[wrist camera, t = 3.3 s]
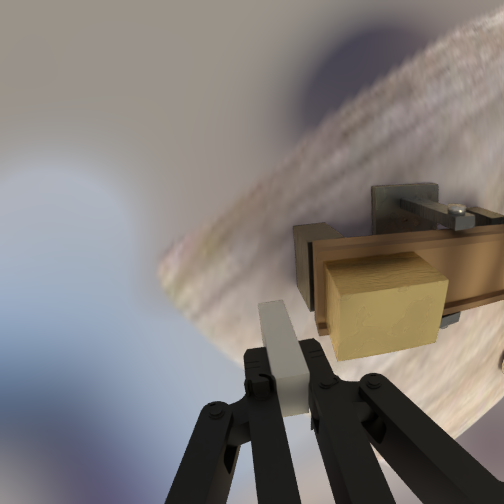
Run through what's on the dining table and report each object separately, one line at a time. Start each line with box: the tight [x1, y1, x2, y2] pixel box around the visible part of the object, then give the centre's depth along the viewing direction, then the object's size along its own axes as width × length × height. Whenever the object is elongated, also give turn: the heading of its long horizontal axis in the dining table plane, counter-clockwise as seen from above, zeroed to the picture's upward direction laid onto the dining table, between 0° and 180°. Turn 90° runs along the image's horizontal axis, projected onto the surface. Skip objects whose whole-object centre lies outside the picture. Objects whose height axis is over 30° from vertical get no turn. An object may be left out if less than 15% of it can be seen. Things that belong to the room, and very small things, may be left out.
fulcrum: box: [293, 183, 504, 329], centre depth 23 cm, size 24×12×9 cm, turn 96°
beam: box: [312, 224, 504, 336], centre depth 20 cm, size 24×7×2 cm, turn 96°
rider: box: [324, 252, 449, 361], centre depth 18 cm, size 7×5×5 cm, turn 96°
